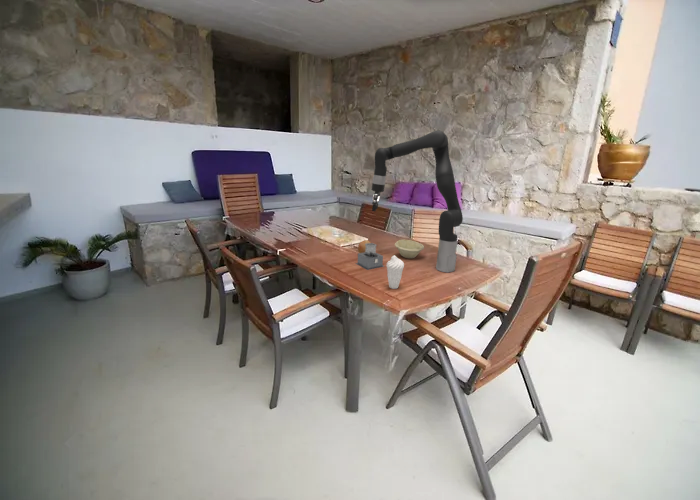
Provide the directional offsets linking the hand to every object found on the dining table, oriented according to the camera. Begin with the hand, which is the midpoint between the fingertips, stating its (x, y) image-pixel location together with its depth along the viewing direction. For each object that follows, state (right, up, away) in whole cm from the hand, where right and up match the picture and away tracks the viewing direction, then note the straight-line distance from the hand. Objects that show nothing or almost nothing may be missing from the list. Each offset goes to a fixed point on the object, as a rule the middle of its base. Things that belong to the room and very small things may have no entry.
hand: (374, 209), depth 194 cm
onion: (-5, -28, +3) cm, 29 cm away
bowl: (+21, -29, +4) cm, 36 cm away
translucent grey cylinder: (-4, -33, -15) cm, 36 cm away
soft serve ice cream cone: (+6, -42, -42) cm, 60 cm away
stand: (-4, -34, -15) cm, 37 cm away
